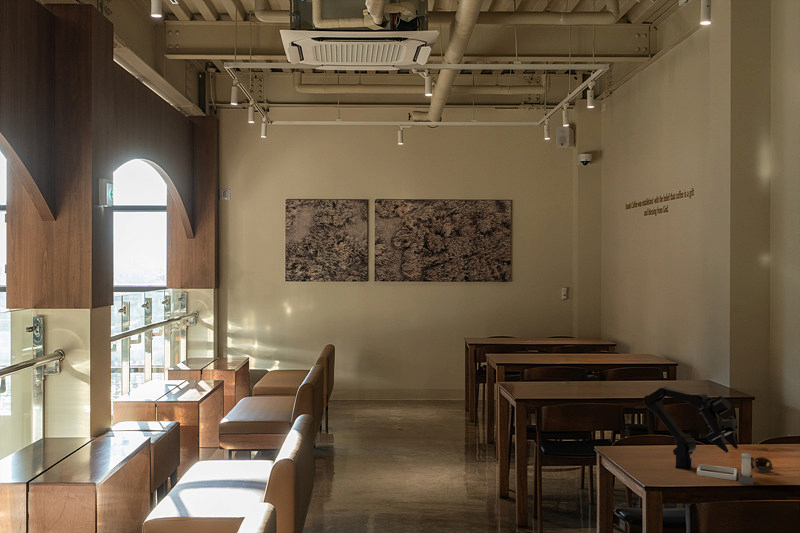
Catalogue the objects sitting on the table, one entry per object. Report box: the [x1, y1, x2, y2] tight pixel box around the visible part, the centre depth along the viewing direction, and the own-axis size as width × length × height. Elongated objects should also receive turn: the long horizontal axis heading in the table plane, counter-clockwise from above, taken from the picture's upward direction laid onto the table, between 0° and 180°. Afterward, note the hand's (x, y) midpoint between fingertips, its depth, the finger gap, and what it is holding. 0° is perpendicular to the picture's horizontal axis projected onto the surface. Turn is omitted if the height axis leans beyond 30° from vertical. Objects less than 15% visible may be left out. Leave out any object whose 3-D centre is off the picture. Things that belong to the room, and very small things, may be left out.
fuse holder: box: [738, 472, 754, 486], centre depth 298 cm, size 6×6×4 cm
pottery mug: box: [751, 456, 774, 474], centre depth 316 cm, size 12×10×8 cm
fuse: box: [741, 452, 752, 478], centre depth 298 cm, size 4×4×12 cm
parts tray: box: [696, 463, 738, 481], centre depth 309 cm, size 16×12×3 cm
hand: (732, 450), depth 305 cm, fingers open, 9 cm apart
